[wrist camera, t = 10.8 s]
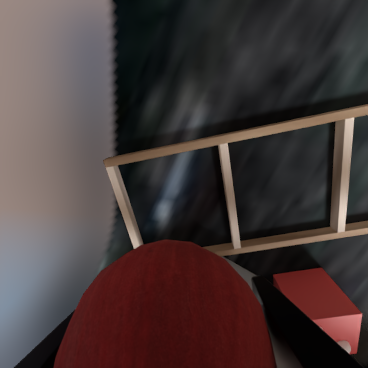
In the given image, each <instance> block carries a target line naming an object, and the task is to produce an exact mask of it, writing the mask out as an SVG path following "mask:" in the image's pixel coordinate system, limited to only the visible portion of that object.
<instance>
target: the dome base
mask: <svg viewBox="0 0 368 368" xmlns="http://www.w3.org/2000/svg"><path fill="white" fill-rule="evenodd" d="M221 257H222V258H224V259H225V260H226V261H227V262H228V263H229V264H230V265H231V266H232V267H233V268H234V269H235V270H236V271H237V272H238V273H239V275H240V276H241V277H242V278H243V279H244V280H245V281H246V282H247V283H248V285H249V286H250V288H251V290H252V282H251V278H252V277H253V276H256V275H255V274H253V273H251V272H249V271H248V270H246V269H244V268H242V267H241V266H239V265H237V264H235V263H234V262H232V261H230V260H228V259H227V258H225V257H223V256H221ZM273 284H274V286H275V287H276V288H277V289H278V290H279V291H281V292H282V293H283V294H284V295H285V296H286V297H287V298H288V299H289V300H290V301H292V302H293V303H294V304H295V305H296V306H297V307H298V308H299V309H300V310H301V311H303V312H304V313H305V314H306V315H307V316H308V317H309V318H310V319H311V320H313V321H314V322H315V323H316V324H317V325H318V326H319V327H320V328H321V329H322V330H324V331H325V332H326V333H327V334H328V335H329V336H330V337H331V338H332V339H333V340H335V341H336V342H337V343H338V344H339V345H340V346H341V347H342V348H343V349H344V350H346V351H347V352H348V353H349V354H357V348H358V341H359V334H360V327H361V320H362V313H361V312H360V311H359V309H358V308H357V307H356V306H355V305H354V304H353V303H352V301H351V300H350V299H349V298H348V297H347V296H346V295H345V294H344V292H343V291H342V290H341V289H340V288H339V287H338V286H337V284H336V283H335V282H334V281H333V280H332V279H331V278H330V276H329V275H328V274H327V273H326V272H325V271H324V270H323V269H322V267H321V268H315V269H308V270H301V271H294V272H287V273H280V274H273Z"/></svg>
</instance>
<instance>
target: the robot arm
mask: <svg viewBox="0 0 368 368" xmlns="http://www.w3.org/2000/svg"><path fill="white" fill-rule="evenodd" d="M251 282H252V291H253V293H254V294H255V296H256V298H257V299H258V301H259V303H260V304H261V307H262V311H263V314H264V317H265V320H266V324H267V327H268V330H269V333H270V337H271V341H272V346H273V350H274V355H275V360H276V364H277V368H364V367H363V366H362V365H361V364H360V363H359V362H358V361H357V360H356V359H354V358H353V357H352V356H351V355H350V354H349V353H348V352H347V351H346V350H344V349H343V348H342V347H341V346H340V345H339V344H338V343H337V342H336V341H335V340H333V339H332V338H331V337H330V336H329V335H328V334H327V333H326V332H325V331H324V330H322V329H321V328H320V327H319V326H318V325H317V324H316V323H315V322H314V321H313V320H311V319H310V318H309V317H308V316H307V315H306V314H305V313H304V312H303V311H301V310H300V309H299V308H298V307H297V306H296V305H295V304H294V303H293V302H292V301H290V300H289V299H288V298H287V297H286V296H285V295H284V294H283V293H282V292H281V291H279V290H278V289H277V288H276V287H275V286H274V285H273V284H272V283H271V282H269V281H268V280H267V279H266V278H265V277H264V276H262V275H260V276H253V277H252V278H251ZM75 310H76V309H75ZM75 310H74V311H73V312H72V313H71V314H70V315H69V316H68V317H67V318H66V319H65V320H64V321H62V322H61V323H60V324H59V325H58V326H57V327H56V328H55V329H54V330H53V331H52V332H51V333H50V334H49V335H48V336H47V337H46V338H45V339H44V340H42V342H40V343H39V344H38V345H37V346H36V347H35V348H34V349H33V350H32V351H31V352H30V353H29V354H28V355H27V356H26V357H25V358H24V359H22V360H21V361H20V363H18V364H17V365H16V366H15V367H14V368H53V367H54V362H55V358H56V355H57V352H58V350H59V347H60V345H61V342H62V340H63V337H64V335H65V332H66V330H67V327H68V325H69V322H70V320H71V318H72V316H73V314H74V312H75Z"/></svg>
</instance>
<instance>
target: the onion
mask: <svg viewBox="0 0 368 368" xmlns="http://www.w3.org/2000/svg"><path fill="white" fill-rule="evenodd" d="M53 368H277V364H276V360H275V355H274V350H273V346H272V341H271V337H270V333H269V330H268V327H267V324H266V320H265V317H264V314H263V311H262V307H261V304H260V303H259V301H258V299H257V298H256V296H255V294H254V293H253V291H252V290H251V288H250V286H249V285H248V283H247V282H246V281H245V280H244V279H243V278H242V277H241V276H240V275H239V273H238V272H237V271H236V270H235V269H234V268H233V267H232V266H231V265H230V264H229V263H228V262H227V261H226V260H225V259H224V258H222V257H220V256H218V255H217V254H215V253H213V252H211V251H209V250H207V249H205V248H203V247H201V246H199V245H197V244H194V243H192V242H186V241H177V240H167V239H165V240H161V241H157V242H152V243H148V244H144V245H140V246H139V247H137V248H135V249H133V250H131V251H130V252H128V253H126V254H125V255H123V256H122V257H121V258H119V259H118V260H116V261H115V262H113V263H112V264H111V265H109V266H108V267H106V268H105V269H103V270H102V271H101V272H100V273H99V275H98V276H97V277H96V278H95V280H94V281H93V282H92V283H91V285H90V286H89V287H88V289H87V290H86V291H85V293H84V294H83V296H82V298H81V300H80V302H79V304H78V306H77V308H76V310H75V312H74V314H73V316H72V318H71V320H70V322H69V325H68V327H67V330H66V332H65V335H64V337H63V340H62V342H61V345H60V347H59V350H58V352H57V355H56V358H55V362H54V367H53Z"/></svg>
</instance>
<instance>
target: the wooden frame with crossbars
mask: <svg viewBox="0 0 368 368" xmlns="http://www.w3.org/2000/svg"><path fill="white" fill-rule="evenodd" d="M364 115H368V104H366V105H361V106H356V107H351V108H346V109H341V110H336V111H332V112H327V113H322V114H317V115H312V116H307V117H303V118H298V119H293V120H288V121H283V122H278V123H274V124H269V125H264V126H259V127H254V128H249V129H244V130H240V131H235V132H230V133H225V134H220V135H215V136H211V137H206V138H201V139H196V140H191V141H186V142H182V143H177V144H172V145H167V146H162V147H157V148H153V149H148V150H143V151H138V152H133V153H128V154H123V155H119V156H114V157H109V158H107V159H105V160H103V162H104V164H105V167H106V170H107V173H108V176H109V178H110V181H111V184H112V187H113V190H114V193H115V196H116V199H117V201H118V204H119V207H120V210H121V213H122V216H123V219H124V221H125V224H126V227H127V230H128V233H129V236H130V238H131V241H132V244H133V247H134V249H135V248H137V247H139V246H140V245H144V244H143V241H142V238H141V235H140V232H139V229H138V226H137V223H136V220H135V216H134V213H133V210H132V207H131V204H130V201H129V198H128V195H127V192H126V189H125V186H124V183H123V180H122V177H121V174H120V171H119V168H118V165H121V164H126V163H131V162H136V161H141V160H146V159H151V158H156V157H161V156H166V155H171V154H176V153H181V152H186V151H191V150H196V149H201V148H205V147H210V146H215V145H218V149H219V156H220V163H221V170H222V176H223V183H224V190H225V197H226V204H227V211H228V218H229V224H230V231H231V238H232V243H225V244H219V245H213V246H207V247H203V248H205V249H207V250H209V251H211V252H213V253H215V254H217V255H218V256H220V257H221V256H227V255H234V254H240V253H247V252H253V251H259V250H266V249H272V248H279V247H285V246H292V245H298V244H304V243H311V242H317V241H324V240H330V239H337V238H343V237H349V236H356V235H362V234H368V221H362V222H356V223H350V224H345V223H346V211H347V199H348V187H349V175H350V163H351V151H352V139H353V127H354V117H359V116H364ZM334 121H336V122H335V141H334V160H333V179H332V197H331V216H330V227H325V228H319V229H313V230H306V231H300V232H294V233H288V234H281V235H275V236H269V237H263V238H257V239H250V240H244V241H240V236H239V228H238V220H237V213H236V205H235V197H234V189H233V182H232V174H231V166H230V158H229V151H228V143H230V142H235V141H240V140H245V139H250V138H255V137H260V136H265V135H270V134H275V133H280V132H284V131H289V130H294V129H299V128H304V127H309V126H314V125H319V124H324V123H329V122H334Z"/></svg>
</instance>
